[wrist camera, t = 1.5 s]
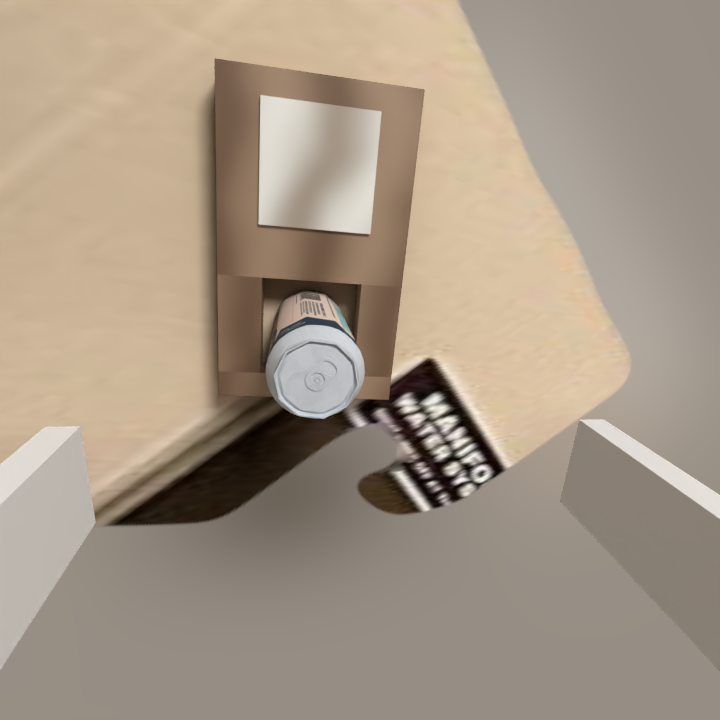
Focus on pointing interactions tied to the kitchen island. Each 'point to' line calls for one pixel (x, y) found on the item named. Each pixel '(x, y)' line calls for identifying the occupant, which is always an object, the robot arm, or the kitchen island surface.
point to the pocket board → (310, 206)
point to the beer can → (313, 357)
